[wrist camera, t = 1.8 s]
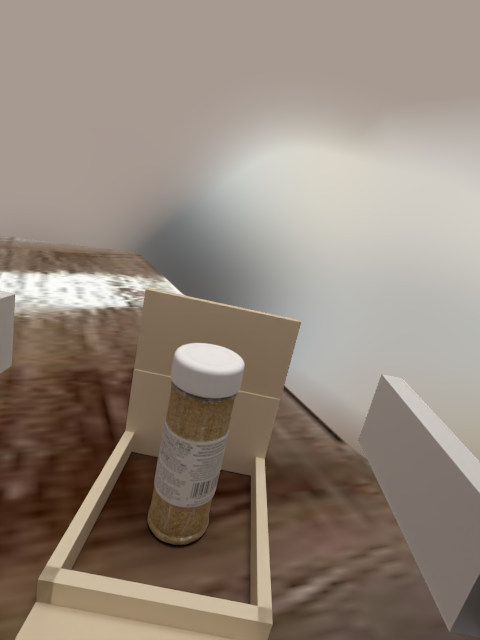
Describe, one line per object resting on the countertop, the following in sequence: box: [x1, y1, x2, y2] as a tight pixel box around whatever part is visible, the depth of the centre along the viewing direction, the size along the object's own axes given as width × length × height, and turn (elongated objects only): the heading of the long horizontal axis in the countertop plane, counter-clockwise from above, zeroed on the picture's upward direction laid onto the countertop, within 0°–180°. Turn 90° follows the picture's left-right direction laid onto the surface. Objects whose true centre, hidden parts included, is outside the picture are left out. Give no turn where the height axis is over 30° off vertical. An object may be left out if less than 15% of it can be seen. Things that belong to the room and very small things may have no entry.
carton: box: [15, 288, 301, 640], centre depth 22 cm, size 21×13×15 cm, turn 178°
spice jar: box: [148, 343, 245, 545], centre depth 25 cm, size 5×5×13 cm
